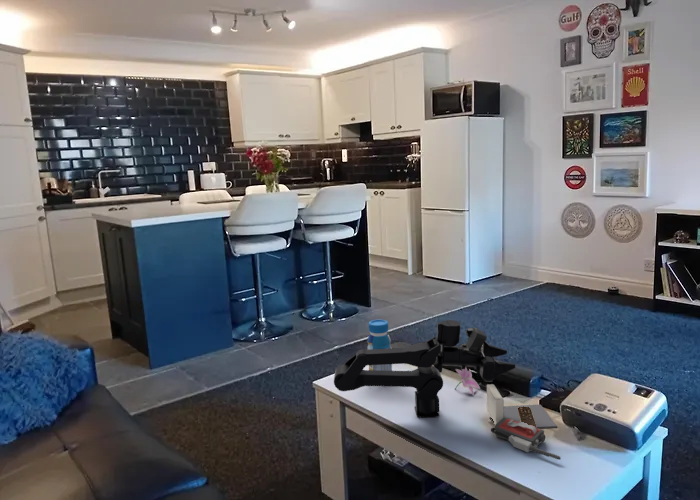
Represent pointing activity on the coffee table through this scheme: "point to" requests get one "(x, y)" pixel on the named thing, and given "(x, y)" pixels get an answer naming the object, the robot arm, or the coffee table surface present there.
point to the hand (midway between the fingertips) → (510, 359)
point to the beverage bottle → (379, 341)
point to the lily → (467, 379)
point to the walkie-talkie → (521, 435)
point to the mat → (538, 412)
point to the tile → (494, 404)
